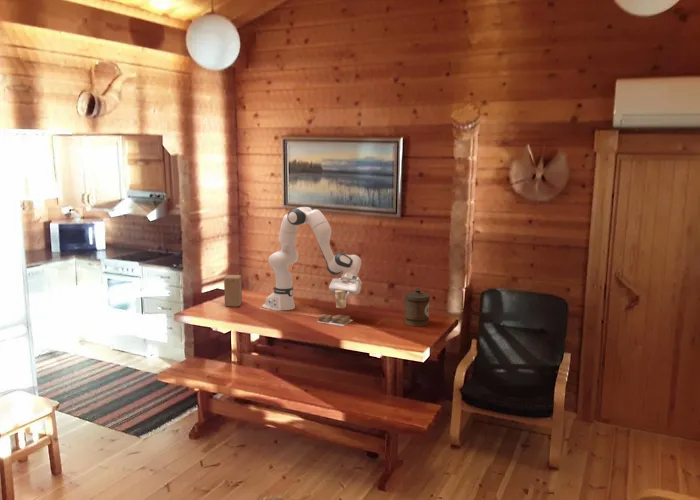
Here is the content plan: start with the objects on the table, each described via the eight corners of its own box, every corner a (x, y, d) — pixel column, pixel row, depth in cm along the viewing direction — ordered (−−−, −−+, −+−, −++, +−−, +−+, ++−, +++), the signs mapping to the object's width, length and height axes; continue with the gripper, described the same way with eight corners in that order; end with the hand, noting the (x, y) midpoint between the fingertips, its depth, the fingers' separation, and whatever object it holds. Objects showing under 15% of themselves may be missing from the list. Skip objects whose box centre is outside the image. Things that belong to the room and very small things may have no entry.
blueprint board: (316, 323, 363) (316, 321, 363) (328, 317, 375) (328, 315, 375) (342, 328, 355) (342, 325, 355) (353, 321, 367) (353, 319, 367)
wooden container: (431, 326, 360) (432, 290, 356) (408, 327, 357) (408, 291, 354) (424, 319, 374) (425, 285, 370) (401, 320, 372) (402, 285, 368)
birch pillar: (336, 307, 360) (335, 291, 359) (339, 305, 364) (339, 289, 363) (342, 308, 358) (342, 292, 357) (346, 306, 362) (346, 290, 361)
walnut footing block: (318, 321, 364) (318, 316, 363) (323, 318, 369) (323, 313, 369) (327, 322, 361) (327, 317, 361) (331, 320, 366) (331, 315, 366)
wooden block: (239, 307, 398) (238, 277, 395) (224, 306, 399) (223, 277, 395) (242, 303, 408) (241, 274, 405) (227, 302, 408) (226, 274, 405)
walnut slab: (331, 322, 361) (331, 317, 361) (338, 319, 368) (338, 314, 368) (343, 324, 358) (343, 319, 357) (349, 320, 365) (349, 316, 364)
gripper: (331, 274, 369) (323, 293, 362) (361, 277, 360) (353, 297, 353) (335, 279, 374) (327, 298, 367) (364, 283, 364) (356, 302, 357)
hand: (340, 297), depth 360 cm, fingers closed on birch pillar, 4 cm apart
